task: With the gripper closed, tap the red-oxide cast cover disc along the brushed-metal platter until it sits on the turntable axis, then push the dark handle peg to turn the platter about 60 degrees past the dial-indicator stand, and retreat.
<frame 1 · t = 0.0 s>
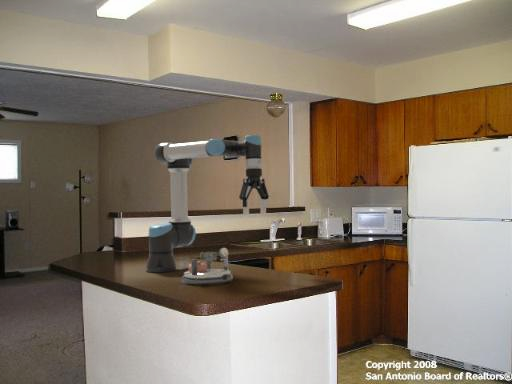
hand: (254, 213, 238), 28 cm above the counter, fingers open, 13 cm apart
platter: (208, 266, 221), point 6 cm above the counter, hinge at 0.0°, touching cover
turntable base: (207, 280, 221), on the counter
indicator stand: (226, 276, 232), on the counter
mechanical component: (208, 273, 243), on the counter
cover: (197, 271, 224), point 4 cm above the counter, touching platter
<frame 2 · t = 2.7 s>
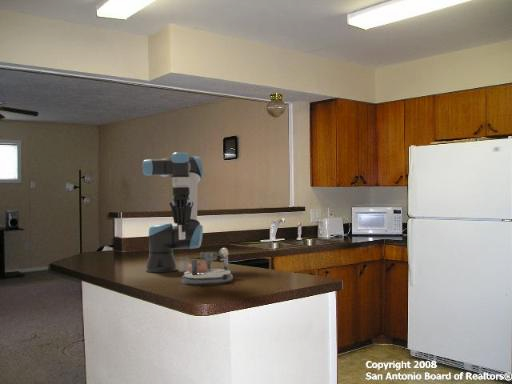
hand: (182, 239, 230), 18 cm above the counter, fingers closed
nothing on the counter moved.
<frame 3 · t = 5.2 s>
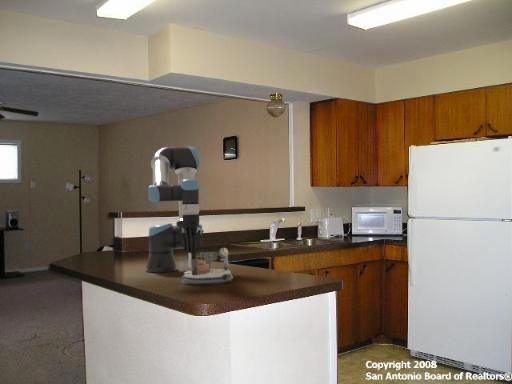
hand: (191, 267, 226), 5 cm above the counter, fingers closed
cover: (200, 271, 224), point 4 cm above the counter, touching platter
everything else where it was.
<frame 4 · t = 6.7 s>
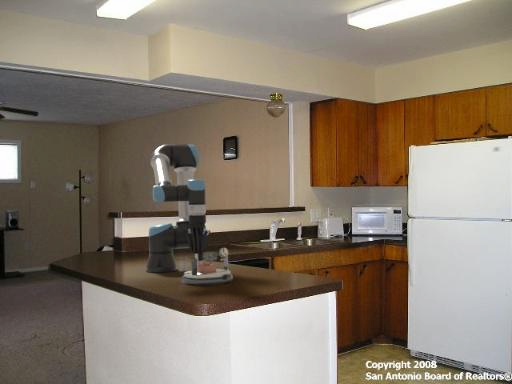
hand: (198, 268, 224), 5 cm above the counter, fingers closed
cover: (206, 272, 221), point 4 cm above the counter, touching platter
everything else where it was.
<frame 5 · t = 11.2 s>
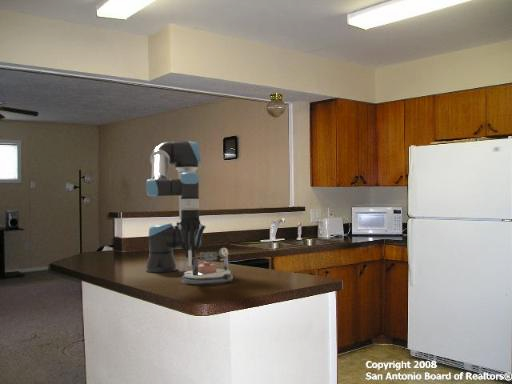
hand: (190, 265, 214), 8 cm above the counter, fingers closed
platter: (208, 266, 221), point 6 cm above the counter, hinge at 3.3°, touching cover, gripper
everything else where it was.
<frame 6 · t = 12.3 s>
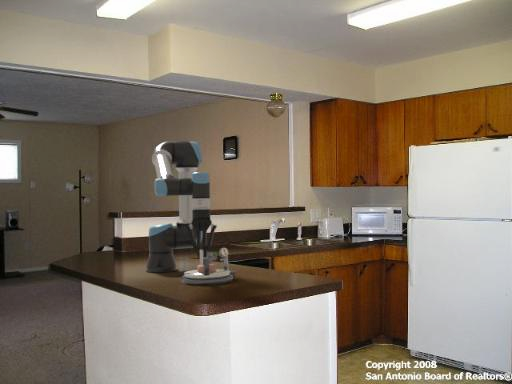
hand: (202, 265, 214), 8 cm above the counter, fingers closed
platter: (209, 266, 221), point 6 cm above the counter, hinge at 39.8°, touching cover, gripper
everything else where it was.
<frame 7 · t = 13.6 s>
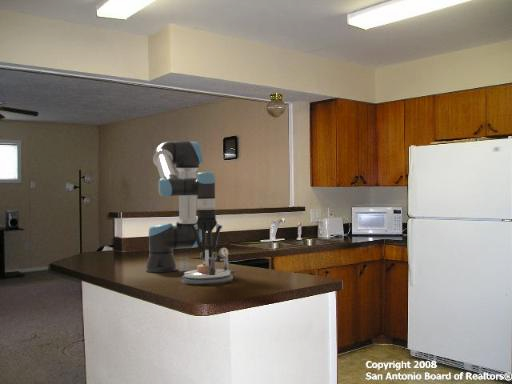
hand: (207, 265, 214), 8 cm above the counter, fingers closed
platter: (209, 266, 222), point 6 cm above the counter, hinge at 56.5°, touching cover, gripper
everything else where it was.
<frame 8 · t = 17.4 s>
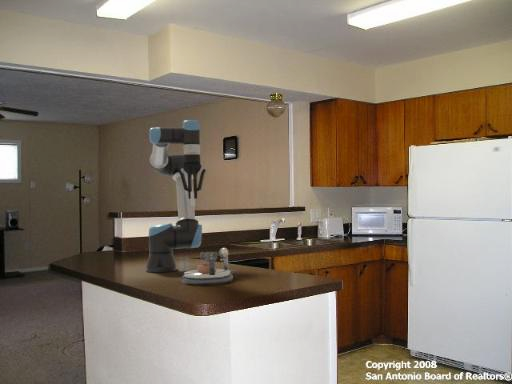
hand: (193, 206, 232), 32 cm above the counter, fingers closed
platter: (209, 266, 222), point 6 cm above the counter, hinge at 56.5°, touching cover
everything else where it was.
at the end: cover 0.3 cm from the turntable base (horizontally); platter at +56° (first picture: +0°); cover tilted 0° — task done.
